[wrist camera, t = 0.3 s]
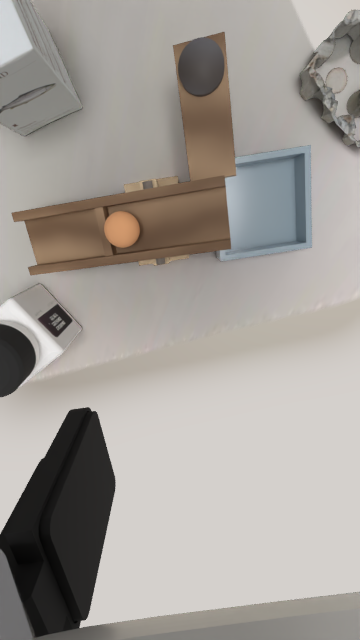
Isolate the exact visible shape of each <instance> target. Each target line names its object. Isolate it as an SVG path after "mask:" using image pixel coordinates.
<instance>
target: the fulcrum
mask: <svg viewBox="0 0 360 640" xmlns="http://www.w3.org/2000/svg"><path fill="white" fill-rule="evenodd" d="M151 180H152V183H153V188H155V187H161V186H166V185H172V184H177V183H179V182H178V176H174V177H168V178H162V179H151ZM144 181H150V180H144ZM144 181H139V182H137V183H131V184H125V185H124V188H125V193H127V192H132V191H138V190H144V189H143V183H142V182H144ZM186 258H189V255H182V256H174V257H167V258H165V264H168V263H169V262H170V261H173V260H179V259H186ZM138 262H139V266H140V265H147V264H153V263H154V266H155V265H157V264H156V259H151V260H144V261H138ZM160 265H162V264H160Z"/></svg>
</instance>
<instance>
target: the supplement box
mask: <svg viewBox="0 0 360 640" xmlns="http://www.w3.org/2000/svg"><path fill="white" fill-rule="evenodd" d="M80 109H82V105H81V103H80V100H79V98H78V96H77V94H76V91H75V89H74V87H73V85H72V82H71V80H70V78H69V75H68V73H67V71H66V69H65V66H64V64H63V62H62V59H61V57H60V55H59V52H58V50H57V48H56V46H55V43H54V41H53V39H52V37H51V34H50V32H49V30H48V28H47V27H46V25H45V24H44V22H43V21H42V19H41V17H40V16H39V14H38V12H37V11H36V9H35V8H34V6H33V5H32V3H31V2H30V0H0V124H2V125H4V126H6V127H8V128H9V129H11V130H13V131H15V132H17V133H19V134H20V135H22V136H26V135H27V134H29V133H31V132H33V131H35V130H36V129H38V128H40V127H42V126H44V125H46V124H48V123H50V122H53V121H55V120H57V119H59V118H61V117H63V116H66V115H68V114H70V113H72V112H75V111H77V110H80Z"/></svg>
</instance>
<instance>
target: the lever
mask: <svg viewBox="0 0 360 640" xmlns="http://www.w3.org/2000/svg"><path fill="white" fill-rule="evenodd" d="M173 48H174V56H175V64H176V72H177V80H178V87H179V95H180V103H181V111H182V119H183V127H184V135H185V143H186V150H187V158H188V166H189V174H190V181H189V182H183V183H177V184H172V185H166V186H161V187H155V188H153V183H152V180H150V181H144V182H142V183H143V189H144V190H138V191H132V192H127V193H121V194H115V195H110V196H104V197H99V198H93V199H87V200H82V201H76V202H70V203H65V204H59V205H53V206H48V207H42V208H37V209H31V210H25V211H20V212H14V213H12V216H13V220H14V222H17V221H25V224H26V228H27V231H28V234H29V238H30V241H31V245H32V248H33V251H34V255H35V258H36V262H37V265H35V266H31V267H28V269H29V272H30V275H37V274H45V273H52V272H60V271H68V270H75V269H83V268H90V267H98V266H106V265H113V264H121V263H129V262H136V261H144V260H151V259H156V264H157V265H160V264H165V258H167V257H174V256H182V255H190V254H197V253H205V252H212V251H220V250H228V249H231V238H230V227H229V217H228V206H227V195H226V185H225V178H227V177H232V176H236V165H235V153H234V141H233V129H232V117H231V105H230V93H229V81H228V69H227V57H226V44H225V32H222V33H218V34H214V35H211V36H207V37H201V38H197V39H194V40H192V41H188V42H184V43H181V44H177V45H173ZM117 211H125V212H128V213H130V214H132V215H133V216H134V217H135V218H136V220H137V221H138V223H139V227H140V234H139V237H138V239H137V241H136V242H135V243H134V244H133V245H131V246H129V247H125V248H120V247H117V246H114V245H113V244H111V243H110V242H109V241H108V239H107V238H106V235H105V232H104V225H105V221H106V219H107V218H108V217H109V216H110V215H111V214H112V213H114V212H117Z"/></svg>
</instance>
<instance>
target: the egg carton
mask: <svg viewBox="0 0 360 640" xmlns="http://www.w3.org/2000/svg"><path fill="white" fill-rule="evenodd" d="M313 53H314V54H315V56H314V57H313V59H312V60H311V61H310V63H309V64H308V65H307V66H306V67H305V68H304V70H303V71H302V72H301V73H300V75H299V76H300V79H301V81H302V88H301V91H300V95H301V97H302V98H303V99H304V100H305V101H307V100H308V99H310V98H318V99H320V100H321V101H322V103H323V108H324V110H323V114H322V116H321V118H322V119H323V120H324V121H326V122H327V123H330V122H332V121H335V122H336V124H337V125H338V126H339V127H340V128H341V129H342V130H343V131H344V136H343V138H342V141H343V142H344V144H345V145H347V146H349V145H351V144H353V143H356V146H357V147H360V141H356V140H355V139H354V137H353V136H354V135H355V133H354V131H355V128H356V125H355V122H354V117H360V90H359V91H357V92H356V93H354V94H353V95H352V96H351V97H350V98H349V100H348V103H347V110H348V113H349V114H350V115H342V116H340V117H338V118H336V116H335V112H336V109H337V104H338V101H336V100H335V94H336V93H340V92H341V91H342V90H343V89H344V88H345V86H346V84H347V74H346V72H345V70H344V69H343V68H334V69H332V70H331V71H330V72H329V73H328V75H327V78H326V81H325V83H326V86H325V84H324V80H323V79H322V77H321V76H320V75H319V74H318V73H317V72H316V71H315V69H317V68H319V67H320V66H321V65H322V64H323V63H324V62H326V63H328V64H332V63H338V62H339V61H341V60H342V59H343V58H345V57H346V56H347V55H349V54H350V57H351V59H352V61H354V62H355V63H357V64H360V10H351V11H350V12H348V14H347V15H346V16H345V18H344V20H343V21H342V22H340V23H339V24H338V26H337V27H336V28H335V29H334V31H333V32H332V34H331V35H330V36H329V37H328V38H327V39H326V40H324V41H323V42H322V43H321V44H320V45H319V47H318V48H317V49H316V50H315V51H314V52H313Z"/></svg>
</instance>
